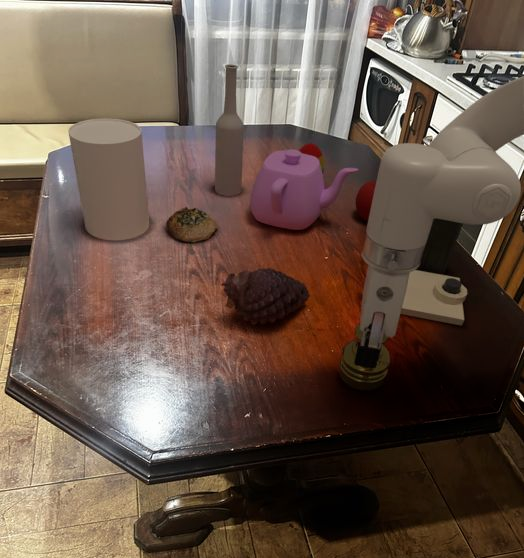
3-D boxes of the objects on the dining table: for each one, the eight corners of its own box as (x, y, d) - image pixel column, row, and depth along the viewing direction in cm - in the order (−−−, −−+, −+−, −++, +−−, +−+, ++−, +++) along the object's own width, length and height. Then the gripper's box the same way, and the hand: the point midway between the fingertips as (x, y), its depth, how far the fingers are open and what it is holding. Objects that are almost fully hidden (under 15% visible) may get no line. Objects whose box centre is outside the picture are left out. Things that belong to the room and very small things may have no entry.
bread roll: (166, 216, 115) (168, 196, 112) (215, 223, 118) (218, 203, 114) (164, 244, 108) (166, 223, 104) (216, 250, 110) (220, 230, 107)
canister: (145, 207, 118) (137, 117, 105) (153, 237, 109) (145, 142, 95) (83, 211, 115) (67, 119, 101) (87, 243, 105) (69, 145, 92)
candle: (415, 270, 107) (454, 150, 90) (424, 259, 110) (463, 142, 93) (438, 279, 105) (482, 158, 88) (447, 268, 108) (491, 150, 91)
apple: (396, 227, 120) (407, 186, 113) (360, 228, 118) (369, 187, 111) (381, 208, 127) (391, 169, 120) (347, 209, 125) (354, 169, 118)
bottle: (244, 194, 127) (250, 69, 108) (218, 197, 125) (220, 70, 106) (236, 183, 131) (241, 61, 112) (211, 185, 129) (212, 61, 110)
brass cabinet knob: (388, 392, 78) (403, 344, 71) (339, 390, 78) (350, 342, 71) (381, 359, 83) (395, 311, 77) (335, 357, 83) (345, 308, 76)
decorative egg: (292, 173, 138) (297, 136, 131) (322, 177, 137) (328, 140, 131) (289, 186, 132) (293, 147, 125) (320, 190, 131) (326, 152, 125)
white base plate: (459, 284, 104) (464, 271, 102) (464, 326, 94) (470, 313, 92) (378, 269, 106) (382, 256, 104) (374, 309, 96) (378, 296, 94)
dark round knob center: (458, 287, 98) (461, 279, 97) (459, 296, 96) (462, 288, 95) (442, 284, 99) (445, 276, 98) (443, 293, 97) (445, 285, 95)
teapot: (234, 232, 113) (237, 165, 103) (263, 193, 128) (268, 131, 118) (335, 255, 109) (348, 188, 99) (352, 212, 124) (365, 150, 114)
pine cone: (289, 285, 99) (318, 260, 91) (300, 333, 96) (331, 311, 88) (206, 280, 90) (229, 252, 82) (215, 333, 87) (241, 309, 79)
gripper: (423, 290, 58) (388, 398, 71) (422, 220, 71) (393, 322, 83) (357, 279, 59) (334, 387, 72) (368, 212, 72) (347, 314, 84)
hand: (366, 351), depth 77 cm, fingers closed on brass cabinet knob, 5 cm apart
